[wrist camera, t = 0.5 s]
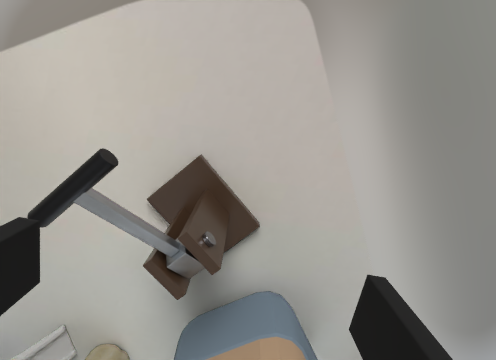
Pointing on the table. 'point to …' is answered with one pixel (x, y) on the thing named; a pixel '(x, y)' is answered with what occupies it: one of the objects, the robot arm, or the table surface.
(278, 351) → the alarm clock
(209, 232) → the brown lever stand
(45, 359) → the faucet
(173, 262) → the tap lever
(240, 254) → the table surface
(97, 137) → the table surface
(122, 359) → the flower pot
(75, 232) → the table surface
